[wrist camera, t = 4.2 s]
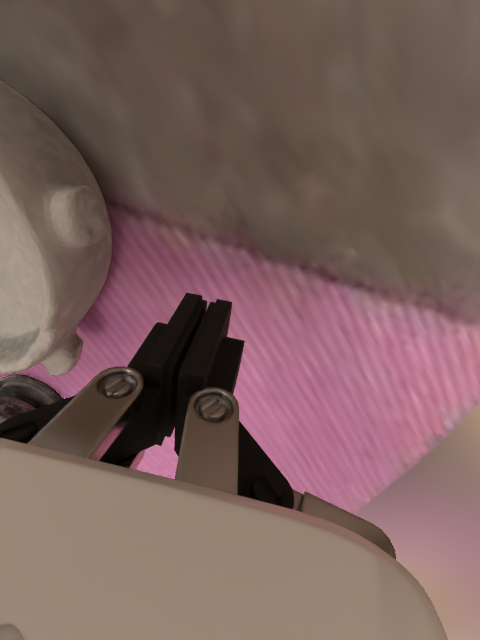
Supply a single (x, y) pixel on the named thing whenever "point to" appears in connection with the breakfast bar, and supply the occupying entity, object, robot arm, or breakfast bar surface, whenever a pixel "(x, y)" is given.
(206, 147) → the breakfast bar surface
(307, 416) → the breakfast bar surface
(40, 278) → the dish
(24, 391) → the salt shaker
